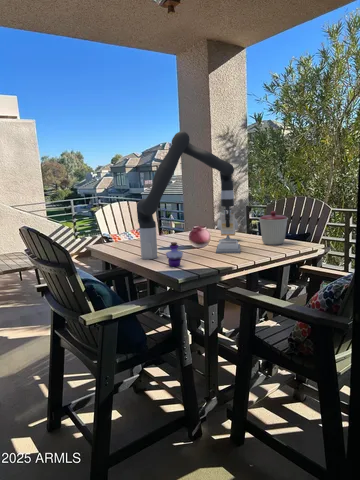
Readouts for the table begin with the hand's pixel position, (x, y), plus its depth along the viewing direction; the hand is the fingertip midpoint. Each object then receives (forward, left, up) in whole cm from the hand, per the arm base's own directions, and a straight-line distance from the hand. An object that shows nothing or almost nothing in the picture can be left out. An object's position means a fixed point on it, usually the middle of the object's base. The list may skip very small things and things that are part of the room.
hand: (227, 226), depth 209 cm
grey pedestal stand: (0, 0, -14) cm, 14 cm away
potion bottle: (-40, +26, -14) cm, 50 cm away
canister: (+17, -28, -14) cm, 36 cm away
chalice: (+29, +1, -14) cm, 32 cm away
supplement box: (0, 0, -5) cm, 5 cm away
